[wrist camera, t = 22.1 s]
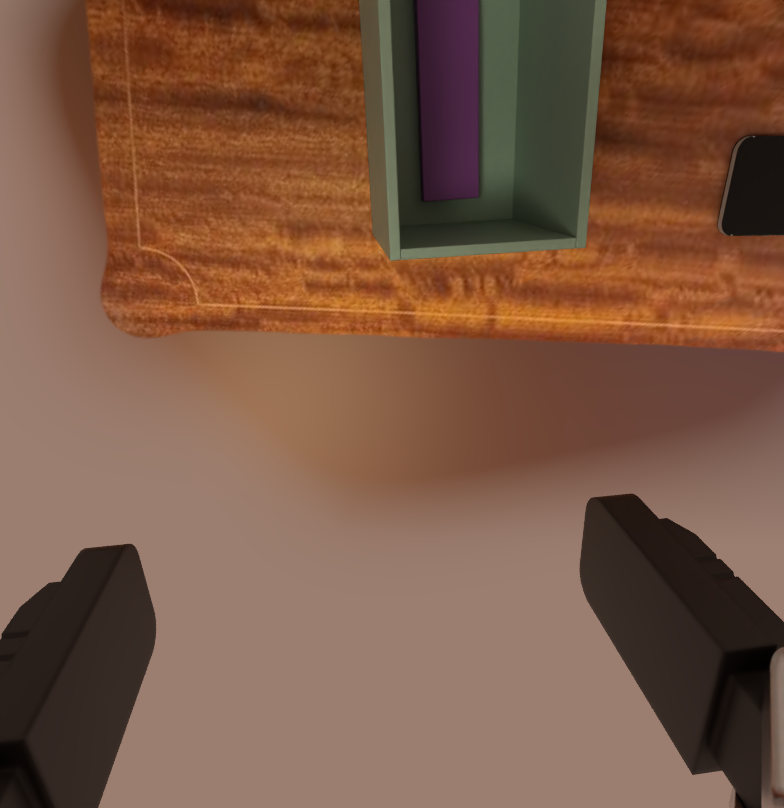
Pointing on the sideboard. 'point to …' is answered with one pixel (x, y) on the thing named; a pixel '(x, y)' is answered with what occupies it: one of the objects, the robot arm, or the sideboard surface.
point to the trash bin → (489, 130)
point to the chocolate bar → (447, 97)
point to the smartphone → (754, 188)
